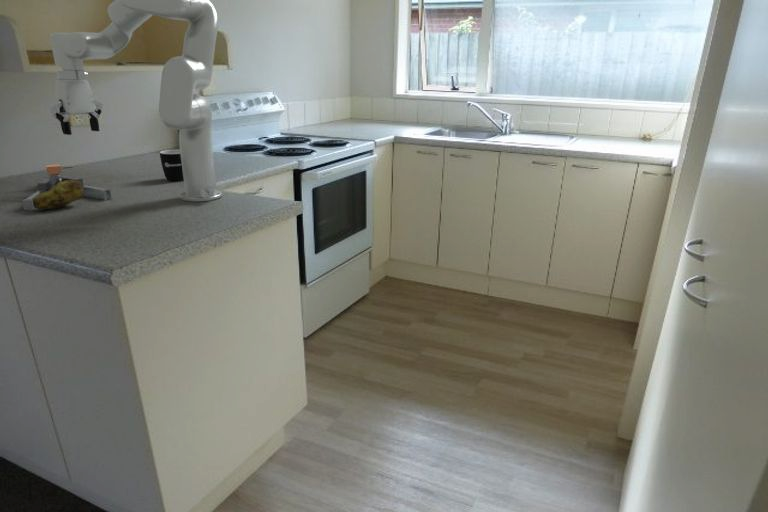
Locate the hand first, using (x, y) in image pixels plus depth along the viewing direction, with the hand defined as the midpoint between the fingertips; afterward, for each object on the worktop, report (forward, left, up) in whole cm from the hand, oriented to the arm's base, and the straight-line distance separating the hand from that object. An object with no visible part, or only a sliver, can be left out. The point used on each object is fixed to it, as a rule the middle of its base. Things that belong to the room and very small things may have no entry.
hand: (81, 132), depth 167 cm
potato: (-20, +10, -19) cm, 29 cm away
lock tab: (+9, +10, -14) cm, 19 cm away
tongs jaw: (-6, +3, -19) cm, 20 cm away
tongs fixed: (-1, +13, -19) cm, 23 cm away
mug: (+3, -29, -19) cm, 35 cm away
